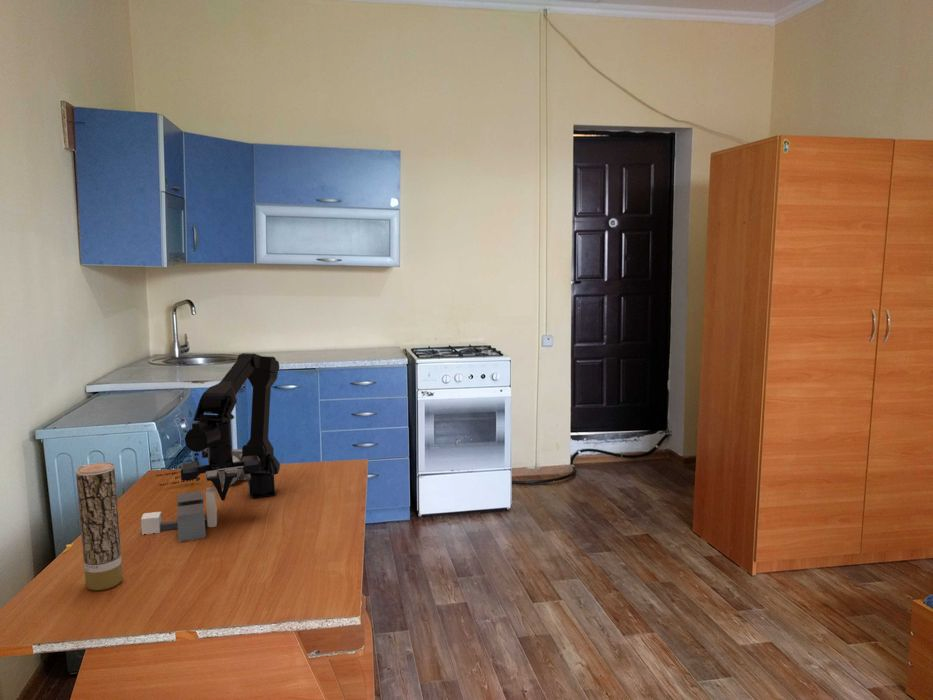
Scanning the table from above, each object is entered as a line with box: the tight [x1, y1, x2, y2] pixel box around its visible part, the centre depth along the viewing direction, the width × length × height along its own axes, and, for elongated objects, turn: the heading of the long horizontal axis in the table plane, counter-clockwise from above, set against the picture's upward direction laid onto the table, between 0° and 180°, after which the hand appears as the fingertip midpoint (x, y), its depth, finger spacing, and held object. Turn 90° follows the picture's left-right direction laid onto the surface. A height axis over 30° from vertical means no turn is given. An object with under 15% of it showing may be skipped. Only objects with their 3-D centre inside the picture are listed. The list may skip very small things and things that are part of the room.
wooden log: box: [75, 462, 124, 591], centre depth 136 cm, size 7×7×25 cm
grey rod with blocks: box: [140, 486, 218, 536], centre depth 166 cm, size 17×4×9 cm, turn 107°
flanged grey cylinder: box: [151, 448, 250, 487], centre depth 195 cm, size 27×11×10 cm, turn 121°
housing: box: [176, 490, 207, 542], centre depth 166 cm, size 6×16×6 cm, turn 23°
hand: (223, 500), depth 168 cm, fingers closed
